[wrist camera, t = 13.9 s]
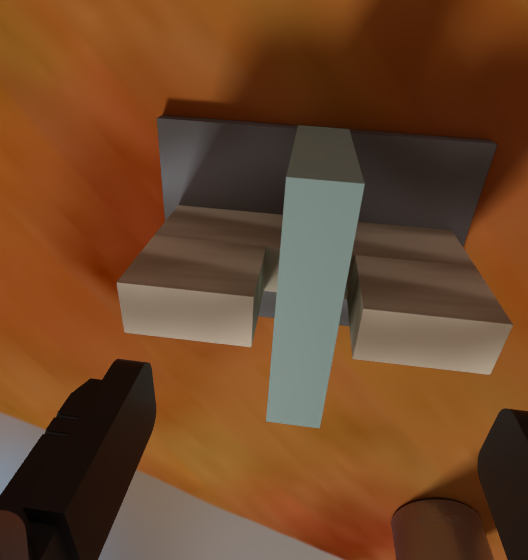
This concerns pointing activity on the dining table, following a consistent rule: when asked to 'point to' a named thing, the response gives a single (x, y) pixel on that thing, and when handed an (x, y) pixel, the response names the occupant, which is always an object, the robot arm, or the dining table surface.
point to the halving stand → (365, 255)
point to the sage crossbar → (312, 270)
